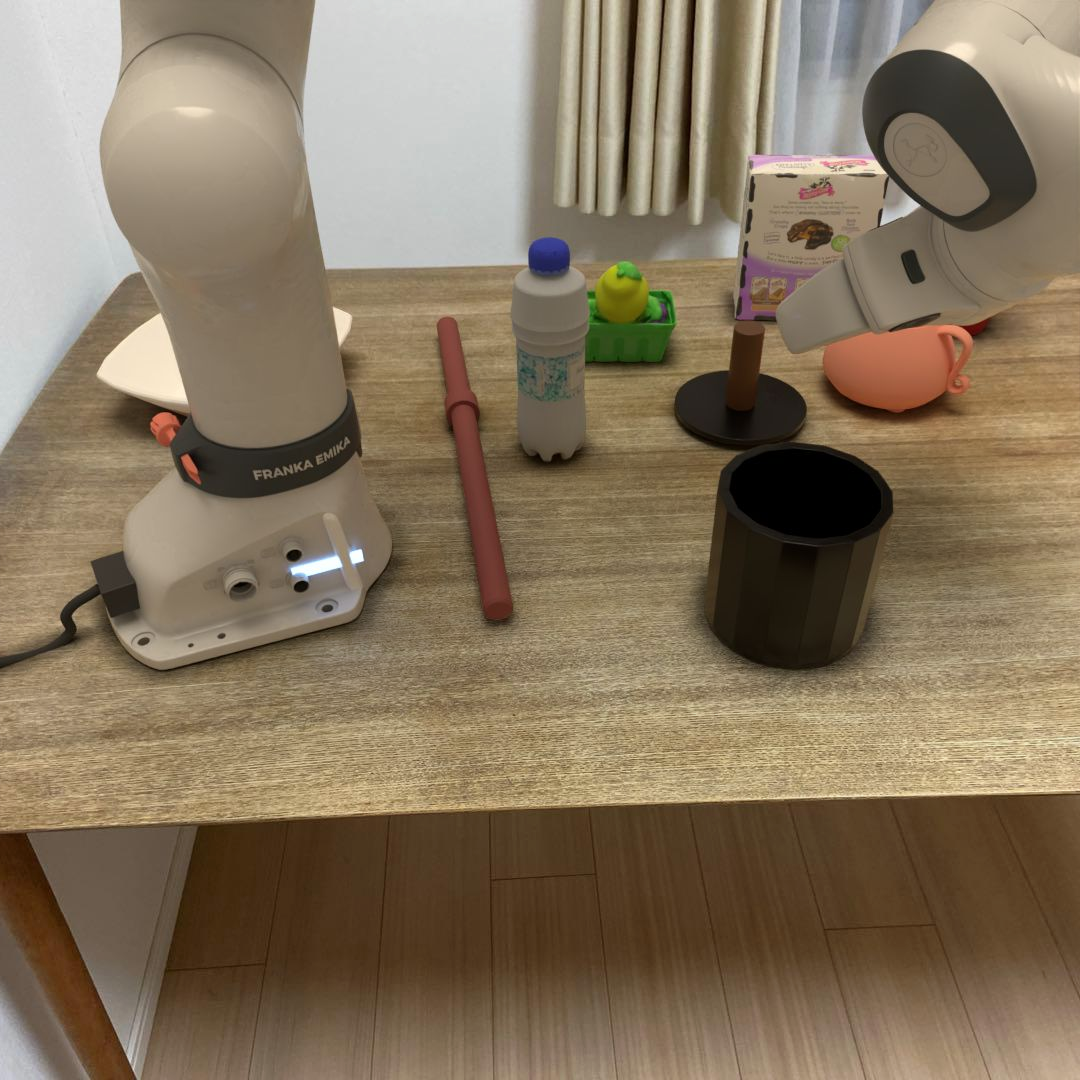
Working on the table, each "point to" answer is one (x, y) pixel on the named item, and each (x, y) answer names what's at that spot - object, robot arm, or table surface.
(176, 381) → the bowl
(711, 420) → the lid
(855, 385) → the sugar bowl
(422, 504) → the table surface
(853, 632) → the faceted dark cup
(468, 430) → the red brown collared rod
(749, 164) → the candy box
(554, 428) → the bottle
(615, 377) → the table surface
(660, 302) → the fruit basket
